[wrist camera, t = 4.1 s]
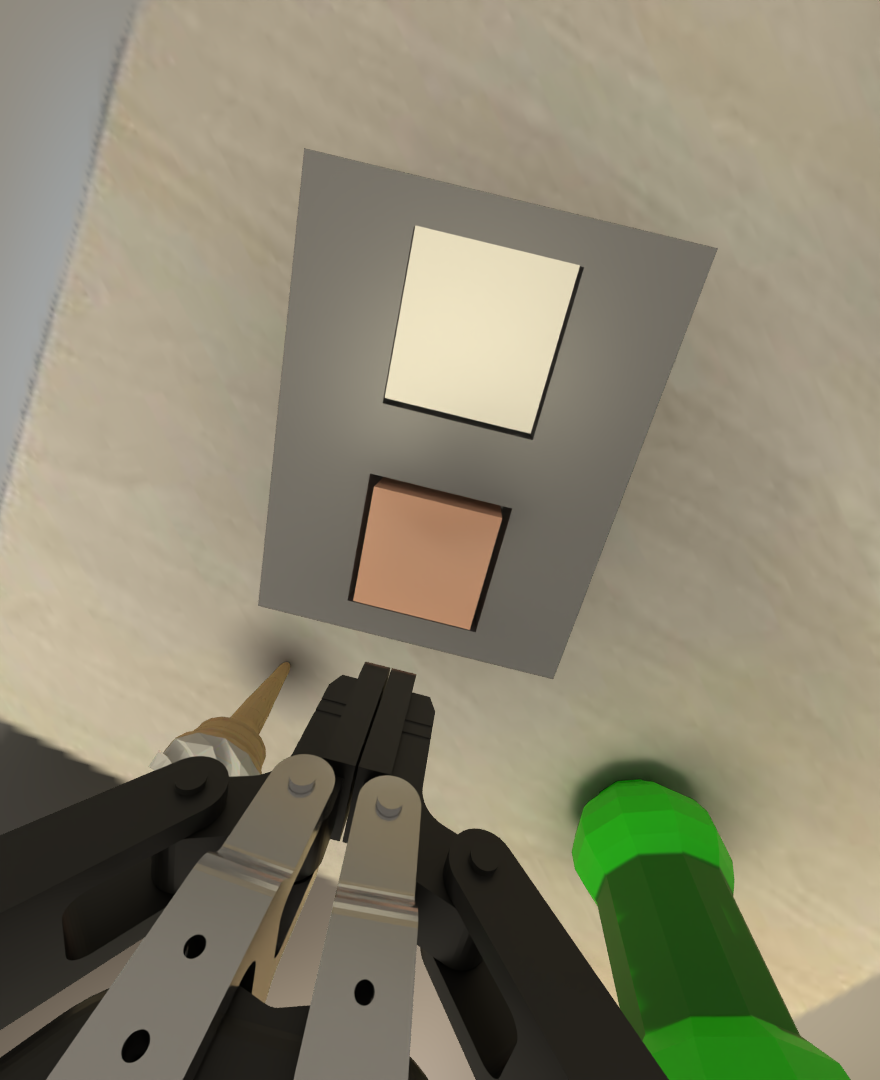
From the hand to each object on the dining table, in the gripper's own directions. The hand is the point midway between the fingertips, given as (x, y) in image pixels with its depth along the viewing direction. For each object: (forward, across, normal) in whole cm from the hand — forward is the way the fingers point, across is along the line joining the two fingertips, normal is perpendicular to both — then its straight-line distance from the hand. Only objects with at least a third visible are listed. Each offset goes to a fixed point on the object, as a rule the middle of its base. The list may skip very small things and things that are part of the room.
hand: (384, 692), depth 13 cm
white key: (+11, 0, -10) cm, 15 cm away
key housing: (+16, 0, -5) cm, 17 cm away
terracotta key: (+12, 0, 0) cm, 12 cm away
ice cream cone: (+16, +8, +13) cm, 22 cm away
